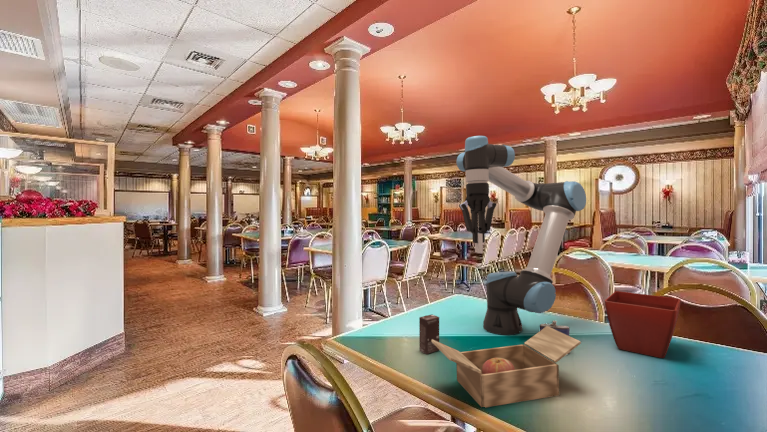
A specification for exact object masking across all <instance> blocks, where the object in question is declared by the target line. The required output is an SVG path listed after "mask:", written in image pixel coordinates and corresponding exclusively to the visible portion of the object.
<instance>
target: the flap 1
mask: <svg viewBox="0 0 767 432" xmlns="http://www.w3.org/2000/svg"><path fill="white" fill-rule="evenodd" d="M431 342H432V343H433V344H434V345H435V346H436V347H437V348H438V349H439V351H440V352H441V353H442V354H443V356H445V358H446V359H448V360H449V361H450V362H454V363H455V364H456V363H458V364H460V365H462V366H464V367H467V368H469V369H471V370H474V371H476V372H478V373H481V370H480V369H478V368H477V367H476V366H475V365H474V364H473V363H472V362H471V361H469V360H468V359H467V358H466V357H465V356H464V355H463V354H462V353H460V352H461V351H459V350H457V349H455V348H453V347H450V346H448V345H446V344H444V343H442V342H440V341H439V342H437V341H435V340H433V339H432V341H431Z"/></svg>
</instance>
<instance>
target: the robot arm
mask: <svg viewBox="0 0 767 432" xmlns="http://www.w3.org/2000/svg"><path fill="white" fill-rule="evenodd" d="M515 159H516V152H515V150H514V148H513V147H511V146H510V145H505V144H492V143H489V139H488V137H487V136H485V135H474V136H469V137H467V138H466V139H465V141H464V152H461V153H460V154H458V156H457V157H456V166H457V168H458V170H459V171H461V172H465V182H466V185H465V194H466V197H465V200H464V201H463V202H461V203H459V205H458V206H459V208H460V210H461V212H462V216H463V219H464V225H465V228H466V229H465V230H466V231H467V232H469V233H471V234H472V243H473V244H474V253H477V254H482V253H484V243H485V241H486V240H485V239H486V237H485V236H486V235H485V234H486V233H487V232H490V231H491V226H492V222H493V216H494V210H495V209H496V208H497V203H496V202H493V201H491V198H490V196H489V195H490V184H489V183H491V184H492V185H494V186H496V187H498V188H499V189H502V190H503V191H505V192H506V193H508V194H509V195H510V194H511V195H512V196H514V198H515V200H516V201H518V202H519V203H520V204H523V205H525V206H527V207H529V208H532V209H534V210H536V211H540V212H543V213H544V218H543V220H542V222H541V226H540V229H539V232H538V234H537V238H536V240H535V243H534V246H533V249H532V252H531V254H530V257H529V260H528V263H527V266H526V268H523V269H521V271H520V273H519V276H518V275H517V272H515V271H498V272H497V271H495V272H491V273H488V274H487V276H486V283H485V285H486V287H485V288H486V312H485V315H484V318H483V324H482V326H483V329H484V330H485V331H486V332H488V333H491V334H495V335H504V336H509V335H518V334H520V333H522V331H523V323H522V320H521V317H520V314H519V312H518V309H520V310H523V311H527V312H529V313H535V314H543V313H546V312H548V311H550V309H551V308H552V306H553V305H554V304H555V301H556V298H557V297H556V296H557V293H556V287H555V286H554V283H553V282H554V280H553V279H552V277H551V274H552V272H553V268H554V265H555V262H556V259H557V256H558V253H559V251H560V247H561V244H562V241H563V239H564V234H566V233H565V232H566V228H567V226H568V223H569V221H571V220H574V218H575V215H576V213H577V212H581V211H582V210H584V209H585V207H586V205H587V195H586V192H585V188H584V187H583V185H582V184H581V183H580V182H578V181H575V180H574V181H568V180H566V181H560V182H548V183H536V182H533V181H531V180H525V179H523V178H522V177H519V176H518V175H516V174H515V173H513V172H511V171H510V170H507V169H506V168H507V167H510V166H511V165H512V164H513V163H514V161H515ZM505 167H506V168H505ZM488 182H489V183H488ZM468 207H469V208H468ZM486 208H487V209H486ZM469 209H470V211H469Z"/></svg>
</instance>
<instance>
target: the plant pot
mask: <svg viewBox="0 0 767 432" xmlns="http://www.w3.org/2000/svg"><path fill="white" fill-rule="evenodd" d="M681 301H682V300H681V298H678V297H670V296H660V295H652V294H643V293H637V292H628V291H627V292H626V291H621V290H620V291H619V290H617V291H614V292H613V293H611V295H609V296H608V297H607V298H606V299H604V306H605V312H606V316H607V321H608V324H609V329H610V332H611V334H612V336H613V340H614V343H615V345H616V348H617V349H619V350H623V351H628V352H632V353H635V354H642V355H646V356H651V357H655V358H659V359H664V358H665V357H666V355H667V353H668V350H669V347H670V344H671V342H672V339H673V335H674V332H675V329H676V326H677V322H678V317H679V312H680V307H681Z"/></svg>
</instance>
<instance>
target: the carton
mask: <svg viewBox="0 0 767 432" xmlns="http://www.w3.org/2000/svg"><path fill="white" fill-rule="evenodd" d="M459 352H460V353H462V354H463V355H464V356H465V357H466V358H467V359H468V360H469V361H471V362H472V363H473V364H474V365H475V366H476V367H477V368H478V369H480V370H481V373H478V372H476V371H474V370H471V369H469V368H467V367H464V366H462V365H460V364H458V363H455V364H456V381H457V382H458V384H459V385H461V387H463V389H464V390H465V391H466V392H467V393H468V394H469V395H470V396H471V397H472V399H473V400H474V401H475V402H476V403H477V404H478V405H479V406H480V407H481V408H482V407H485V408H490V407H495V406H502V405H507V404H515V403H519V402H526V401H533V400H540V399H545V398H551V397H557V396H560V375H559V374H560V369H559V367H560V366H559V365H560V364H558V363H557V362H556V363H555V362H554V361H552V360H550V359H549V358H547V357H545V356H544V355H542V354H540V353H539V352H537V351H535V350H533V349H532V348H530V347H528V346H527V345H525V343H524V344H517V345H516V344H515V345H507V346H500V347H492V348H484V349H483V348H482V349H475V350H468V351H459ZM492 358H503V359H506V360H508V361H510V362H511V363H512V364H513V366H514V368H515V370H511V371H504V372H497V373H490V374H482V366H483V364H484V363H485V362H486V361H487V360H489V359H492Z"/></svg>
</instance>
